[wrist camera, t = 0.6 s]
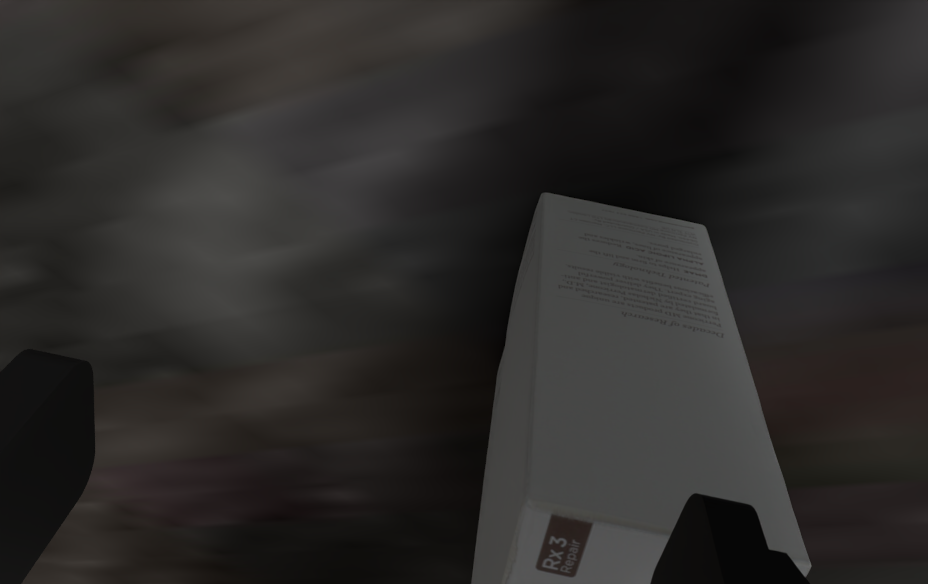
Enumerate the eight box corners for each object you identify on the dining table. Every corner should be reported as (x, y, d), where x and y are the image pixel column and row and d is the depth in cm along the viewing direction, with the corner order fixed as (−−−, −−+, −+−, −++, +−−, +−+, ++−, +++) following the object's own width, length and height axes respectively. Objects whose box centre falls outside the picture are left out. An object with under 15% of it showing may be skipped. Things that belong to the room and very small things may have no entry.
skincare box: (639, 397, 32) (694, 801, 20) (487, 368, 32) (445, 756, 20) (710, 208, 27) (840, 582, 15) (532, 174, 27) (516, 521, 15)
